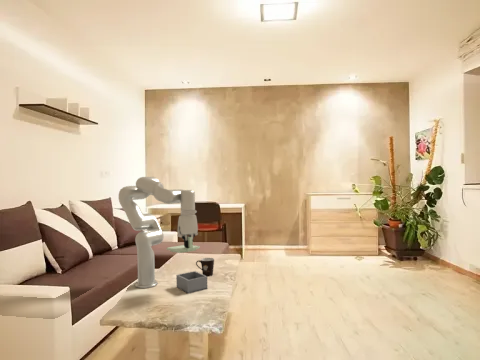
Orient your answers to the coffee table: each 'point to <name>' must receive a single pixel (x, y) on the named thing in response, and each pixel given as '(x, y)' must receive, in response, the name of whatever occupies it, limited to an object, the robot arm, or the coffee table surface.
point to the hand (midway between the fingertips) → (188, 247)
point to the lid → (182, 249)
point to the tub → (191, 282)
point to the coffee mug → (207, 266)
